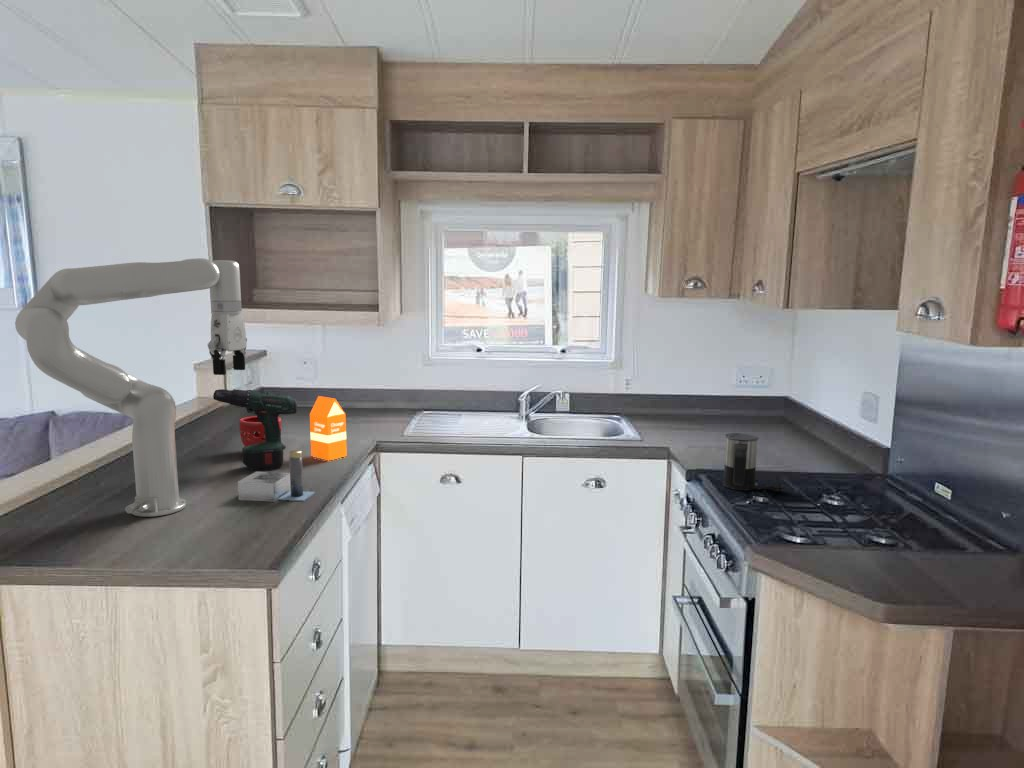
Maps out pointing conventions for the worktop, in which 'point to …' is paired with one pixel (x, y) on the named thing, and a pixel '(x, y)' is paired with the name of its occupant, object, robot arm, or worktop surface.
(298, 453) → the metal cylinder with cap
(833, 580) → the worktop surface
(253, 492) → the block
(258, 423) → the plant pot
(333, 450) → the orange juice
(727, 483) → the milk frother
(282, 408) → the power drill
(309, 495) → the rubber mat
